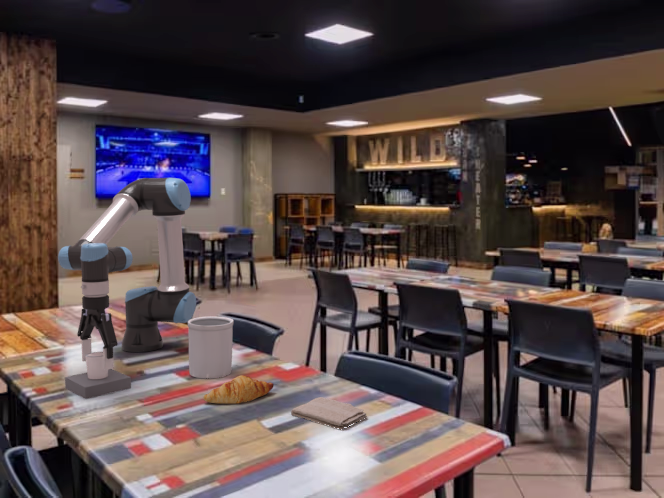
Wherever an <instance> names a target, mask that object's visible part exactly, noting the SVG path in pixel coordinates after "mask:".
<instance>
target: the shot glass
mask: <svg viewBox="0 0 664 498" xmlns="http://www.w3.org/2000/svg"><path fill="white" fill-rule="evenodd" d="M85 357H86V361H85V362H86V363H85V365H86V371H87V372H86V373H88V378H89V379H103V378H106V377H107V376H108V370H104V359H103V351H94V352H93V351H92V353H89V354H86V355H85Z"/></svg>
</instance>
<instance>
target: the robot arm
mask: <svg viewBox="0 0 664 498" xmlns="http://www.w3.org/2000/svg"><path fill="white" fill-rule="evenodd" d="M191 200H192V197H191V192H190V189H189V186H188V184H187V183H186V181H184V180H183V179H181V178H176V177H143V178H139V179H136V180H134V181H132V182H130V183H129V184H127V185H125V186H124V187H123V188H121V189H120V190H119V191H118V192H117V193H116V194H115V195H114V197H113V198H112V203H111V204H110V205H109V207H107V208H106V209H105V210H104V211H103V213H102V214H101V215H100V216H99V218H97V219H96V221H95V222H94V223H93V224H92V225H91V226H90V227H89V228H88V229H87V231H86V232H85V233H83V235H82V236H81V237H80V238H79V240H78V241H77V242H76V243H74V245H65V246H62V247H61V249H59V251H58V256H57V259H58V263H59V265H60V267H61V268H63V269H64V270H71V271H81V286H80V288H81V294H82V298H81V299H82V300H81V301H82V303H81V305H82V308H81V313H80V314H81V317H80V321H79V324H78V330H77V333H76V335H77V337H79V338H80V340H81V361H82V362H86V357H85V355H86V354H89V353H93V351H92V336H91V335H92V333H93V330H94V328H95V329H96V330H98V333H99V336H100V338H101V340H102V343H103V345H104V346H103V347H102V350H103V351H102V352H103V359H104V370H108V369H113V370H114V363H115V362H114V361H115V360H114V348H115V347H118V346H119V344H118V340H117V336H116V331H115V328H114V323H113V318H112V314H111V313H110V312H109V313H106V309H108V308H109V307H110V295H108V294H110V280H109V273H114V272H122V271H124V270H127V269H128V268H130V267H131V265H132V263H133V258H134V257H133V254H132V252H131V249H129V248H127V247H125V246H115V247H110V246H109V247H108V243H110V241H111V240H112V239H113V238H114V237H115V235H116V234H117V233H118V232H119V230H120V229H122V227H123V226H124V224H125V223H127V221H128V220H129V219H130V217H134V216H136V215H137V214H138V212H140V211H145V210H148V211H151V212H152V214H151V216H152V217H153V218H154V219H156V225H157V227H156V228H157V239H158V241H157V242H158V253H159V254H158V256H159V270H160V284H159V286H158V287H157V286H154V285H151V286H142V287H137V288H132V289H129V290H127V291H126V292H125V299H124V303H125V306H124V307H125V330H124V331H125V332H124V333H123V337H122V341H121V350H122V351H124V352H128V353H129V352H130V353H145V352H152V351H153V352H154V351H157V350H159V349H162V348H163V347H164V343H163V341H164V340H163V337H162V335H161V331H160V328H159V325H158V324H159V322H160V323H173V324H185V323H188V321H189V320H190V319H193V316H194V314H195V311H196V307H197V296H196V295H195V293H194V292H193V291H190V285H189V284H188V283H186V281H185V279H186V277H185V264H184V245H183V228H182V218H183V217H185V215H186V211H188V209H189V208H190V206H191Z"/></svg>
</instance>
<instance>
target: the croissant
mask: <svg viewBox="0 0 664 498" xmlns="http://www.w3.org/2000/svg"><path fill="white" fill-rule="evenodd" d="M274 385H275V384H274V383H273V382H270V381H269V382H267V381H265V380H264V381H263V380H260V381H259V380H258V379H256V378H251V377H250V376H249V375H248V376H247V375H241V374H240V375H237V376H236V377H234V378H232V379H231V381H226V382H224V383H223V384H221V386H219V387H217V388H213V389H212V390H210V392H209V393H207V394H203V396H202V399H203V401H204V402H206V403H212V404H222V405H224V404H225V405H227V404H228V405H229V404H231V405H233V404H241V403H247V401H248V402H251V401H254V400H255V399H257V398H261V397H263V396H265V395H267V394H268V393H270V392H271V390H272V389H273V388H274Z"/></svg>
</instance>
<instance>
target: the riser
mask: <svg viewBox="0 0 664 498" xmlns="http://www.w3.org/2000/svg"><path fill="white" fill-rule="evenodd" d="M64 385H65V386H64V387H65V388H64V389H66V390H68V391H70V392H72V393H73V394H75V395H77V396H80V397H81V398H82V399H84V400H87V399H92V398H96V397H101V396H105V395H108V394H111V393H112V394H113V393H116V392H121V391H124V390H129V389H132V377H131V376H129V375H127V374H124V373H122V372H120V371H118V370H116V369H114V368H113V369H108V376H107V377H106V378H103V379H89V378H88V373H87V372H83V373H78V374H74V375H68V376H65V377H64Z"/></svg>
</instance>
